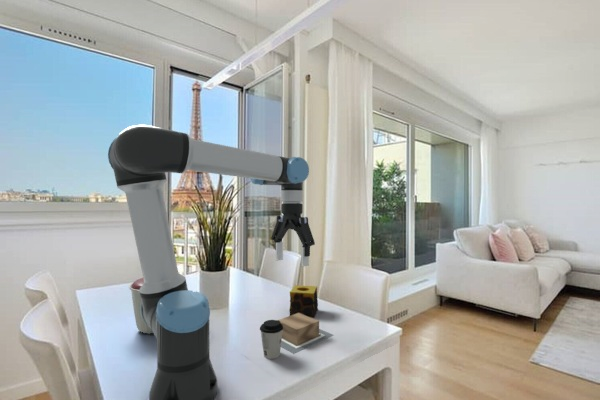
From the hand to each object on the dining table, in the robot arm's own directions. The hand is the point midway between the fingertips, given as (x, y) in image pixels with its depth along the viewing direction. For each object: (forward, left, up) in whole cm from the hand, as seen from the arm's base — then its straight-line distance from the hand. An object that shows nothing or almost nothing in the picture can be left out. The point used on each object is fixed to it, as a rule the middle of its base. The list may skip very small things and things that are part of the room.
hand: (291, 262), depth 109 cm
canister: (-34, +34, -24) cm, 54 cm away
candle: (+14, +8, -24) cm, 29 cm away
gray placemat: (-2, -6, -24) cm, 25 cm away
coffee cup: (-16, -10, -24) cm, 31 cm away
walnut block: (-2, -6, -23) cm, 24 cm away
